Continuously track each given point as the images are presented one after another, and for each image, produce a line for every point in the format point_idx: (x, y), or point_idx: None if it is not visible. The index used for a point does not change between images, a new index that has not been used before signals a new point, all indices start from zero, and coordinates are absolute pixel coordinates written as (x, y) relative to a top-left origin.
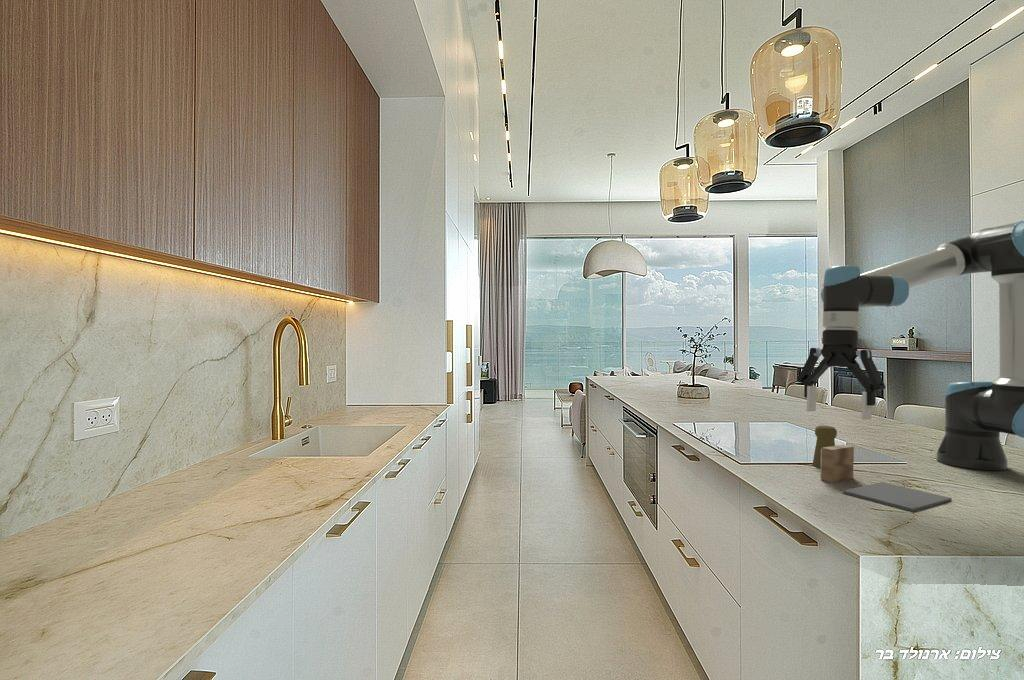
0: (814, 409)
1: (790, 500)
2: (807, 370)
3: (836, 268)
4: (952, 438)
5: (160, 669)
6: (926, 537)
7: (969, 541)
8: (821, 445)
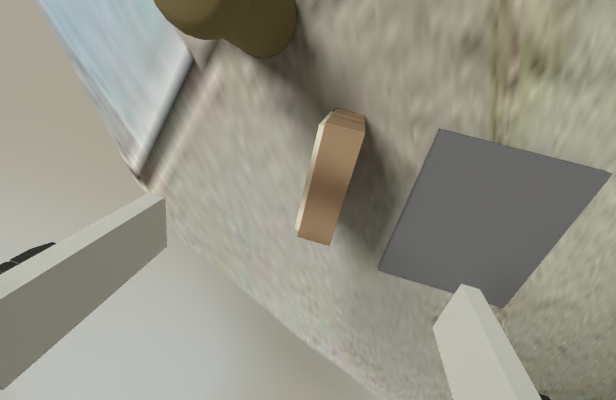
0: (159, 213)
1: (326, 344)
2: None
3: None
4: None
5: None
6: None
7: (567, 382)
8: (230, 38)
